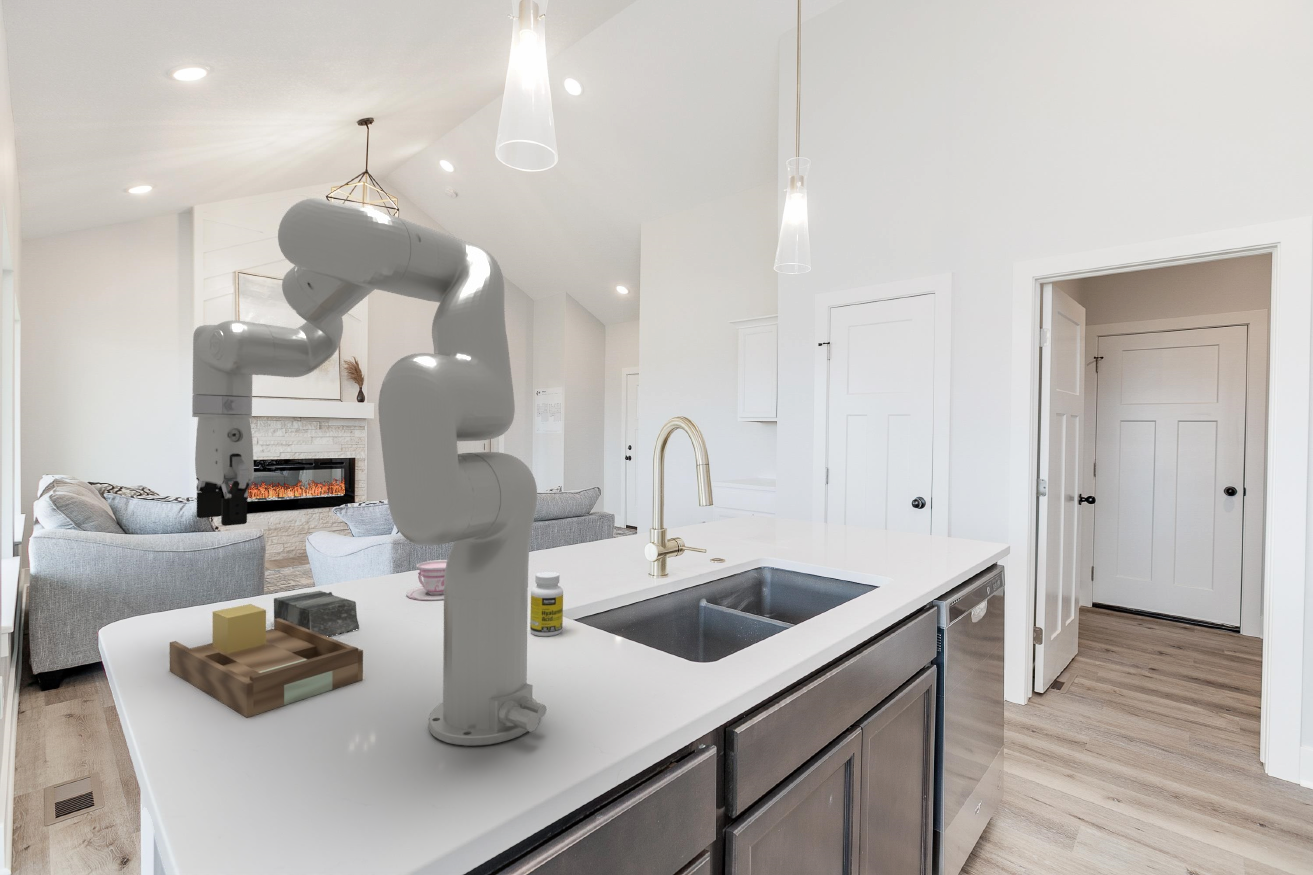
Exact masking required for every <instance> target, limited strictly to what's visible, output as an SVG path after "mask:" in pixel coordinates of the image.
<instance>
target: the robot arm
mask: <svg viewBox="0 0 1313 875" xmlns="http://www.w3.org/2000/svg"><path fill="white" fill-rule="evenodd" d="M278 227H279V228H278V230H277V242H278V247H279V249H280V251H281V253H282V255H283V257H285V259H286V260H287V261H288V262H290V263H291V264H292V265H294V266H293V267H291V268H290V269H289V271H287V272H286V273H285V274H284V277H283V279H282V282H281V288H282V294H283V297H284V298H285V300H286V302H287V304H288V305H289V307H290V308H291V309H292V310H293V312H295V313H296V314H297V315H298V316H299V317H301V319H303V320H304V321H305V322H304V323H303V324H302V325H300V326H299V327H297V328H292V327H288V326H286V327H285V326H281V325H271V324H266V323H259V322H258V323H256V322H251V321H245V320H243V321H242V320H226V321H222V322H220V323H217V324H203V325H199V326H197V327H196V328H195V330H194V332H193V336H192V337H193V340H192V341H193V342H192V398H191V399H192V402H191V403H192V405H191V406H192V407H191V416H192V418H197V419H198V420H197V425H196V426H197V428H196V436H195V451H194V452H195V453H194V454H195V455H194V456H195V457H194V458H195V459H194V460H195V461H194V462H195V463H194V467H195V468H194V469H195V476H196V477H195V478H196V480H197V484H196V518H199V519H207V518H217V517H218V518H219V517H221V518H220V519H221V520H220V523H221V526H224V527H228V526H239V525H245V524H247V522H248V497H249V490H248V488H249V487H250V483H251V482H253V480H254V477H255V474H254V473H255V471H254V470H255V469H254V466H255V465H254V442H253V433H252V426H251V419H253V418H252V417H253V376H269V377H282V378H299V377H303V376H307V375H309V374H311V373H313V372H314V371H315V370H317V369H319V368H320V367H321V366H322V365H324V364H325V363H326V362H327V361H329V360H330V359H331V358H332V357H333V356H334V355H335V353H336V352H337V350H338V348H339V347H340V343H341V340H342V338H343V333H344V321H343V317H344V316H345V315H346V314H347V313H349V312H350V311H351V310H352V309H354V308H355V307H356V306H357V305H358V304H359V303H360V302H362V301H363V300H364V299H366V298H367V296H369V295H370V294H371V293H373V291H375V290H378V291H382V292H387V293H392V294H396V295H399V296H403V297H408V298H414V299H418V300H423V301H428V302H435V303H439V305H438V306H437V308H436V311H435V313H434V315H433V320H432V325H431V338H432V344H433V345H432V346H433V353H429V352H427V353H426V352H421V353H420V352H418V353H412V354H408V355H406V356H403V357H401V358H400V359H398V360H397V361H396V362H394V363H393V365H391V367H390V368H389V370H388V371H387V372H386V374H385V376H384V378H383V381H382V384H381V387H380V391H379V396H378V404H377V405H378V406H377V407H378V410H377V412H378V423H379V433H380V442H381V450H382V453H381V454H382V462H383V470H384V480H385V481H384V482H385V489H386V498H387V504H388V508H389V511H390V512H389V513H390V516H391V518H392V522H393V523H394V526H395V527H396V529H397V531H398V532H399V533H400V535H402V537H403V538H405V539H406V540H407V541H408V542H410V543H413V544H415V545H419V546H424V547H425V546H426V547H427V546H429V547H431V546H433V547H434V546H439V545H444V544H445V545H446V544H449V543H452V545H451V547H450V550H449V553H448V556H447V559H446V560H447V563H446V568H445V577H444V594H443V595H444V600H443V650H442V652H443V654H442V655H443V660H442V661H443V662H442V663H443V665H442V667H443V668H442V670H443V671H442V672H443V673H442V676H443V677H442V703H439V704H438V705H437V706H435V708H434V709H433V710H432V711H431V712H430V713H429V716H428V729H429V732H430V733H431V735H432V736H433V737H434V738H436V739H438V740H439V741H442V742H444V743H447V744H452V745H457V746H468V747H469V746H488V745H493V744H499V743H503V742H507V741H510V740H513V739H515V738H518V737H520V736H522V735H524V734H526V733H527V732H530V733H532V732H534V731H535V730H536V729H537V727H538V726H539V724H540V719H541V718H543V717H545V715H546V712H547V706H546V705H545V704H542V703H541V702H540V703H539V702H538V701H537V700H536V699H535V698H533V684H530V683H528V682H527V681H528V678H527V677H528V672H527V671H528V601H529V600H528V597H529V596H528V595H529V594H528V593H529V589H528V588H529V560H530V559H529V558H530V547H531V538H532V532H533V527H534V521H535V516H536V511H537V503H538V488H537V483H536V480H535V479H536V478H535V477H534V474H533V472H532V471H531V469H530V468H529V466H528V465H527V464H526V463H525V462H524V461H522V460H521V459H519V458H518V457H516V456H514V455H511V454H509V453H505V452H499V451H498V452H497V451H480V452H477V451H475V452H462V453H458V442H478V441H479V442H480V441H488V440H492V439H494V440H495V439H496V438H498V437H501V436H502V435H505V433H506V432H508V430H509V429H510V428H511V426H512V424H513V423H514V419H515V414H516V413H515V412H516V410H515V407H516V406H515V395H514V394H515V393H514V387H513V386H514V385H513V384H514V383H513V377H512V368H511V358H510V351H509V349H510V348H509V342H508V335H507V327H506V314H505V312H506V311H505V281H504V276H503V272H502V269H501V266H500V264H499V263H498V261H497V259H495V257H494V256H493V255H492V253H490V252H489V251H488V250H486V249H484V248H483V247H482V246H479V245H476V244H474V243H471V242H469V241H466V240H463V239H460V238H457V237H455V236H451V235H449V234H446V233H443V232H441V231H437V230H435V229H432V228H429V227H427V226H422V225H420V224H417V223H415V222H412V221H409V220H406V219H403V218H401V217H399V216H396V215H393V214H389V213H387V212H383V211H381V210H376V209H373V208H369V207H363V206H359V205H353V204H346V203H344V202H343V203H341V202H336V201H331V200H326V199H322V198H318V197H315V198H314V197H313V198H305V199H302V200H301V201H298V202H296V203H295V204H293V205H292V206H291V207H290V208H289V209H288V210H286V212H285V213H284V215H283V216H282V218H281V220H280V222H279V224H278ZM220 488H221V489H222V490H220ZM222 492H223V493H222ZM222 494H223V496H224V498H223V496H222Z"/></svg>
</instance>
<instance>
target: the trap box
mask: <svg viewBox="0 0 1313 875" xmlns="http://www.w3.org/2000/svg"><path fill="white" fill-rule="evenodd" d="M169 672H171V673H172V674H174V675H176V676H178V677H179V678H181V679H183V681H185V682H188V683H189V684H191V685H192V686H194V687H196V688H197V689H199V690H201V691H202V692H204V693H205V694H207V695H209V697H212V698H213V699H215V700H217V701H218V702H221V704H223V705H225V706H227V707H229V708H230V709H232V710H234V711H235V712H237V713H238V714H240V715H242V716H244V717H245V718H251V717H253V716H256V715H259V714H262V713H265V712H268V711H271V710H275V709H278V708H281V707H284V706H286V705H289V704H293V703H295V702H298V701H301V700H304V699H308V698H310V697H315V696H317V695H320V694H324V693H326V692H327V693H328V692H329V691H333V690H335V689H339V688H341V687H344V686H348V685H351V684H353V683H357V682H361V681H362V680H364V673H363V672H364V650H363V649H362V648H358V647H356V646H353V645H350V644H348V643H345V642H342V641H339V640H337V639H335V638H332V637H327V636H324V635H322V634H319V633H316V632H314V631H311V630H308V629H306V628H303V627H301V626H298V625H295V624H293V623H290V622H288V621H285V620H282V619H280V618H277V619H274V618H273V628H271V629H266V644H264V645H260V646H256V647H252V648H248V649H244V650H240V651H236V652H232V653H228V654H227V653H225V652H223V651H221V650H219V649H217V648H215V647H213V642H211V643H210V642H209V643H207V644H206V643H205V644H203V645H199V646H194V647H188V646H187V645H184V644H182V643H181V642H178V641H177V640H175V641H173V640H172V641H170V642H169Z"/></svg>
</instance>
